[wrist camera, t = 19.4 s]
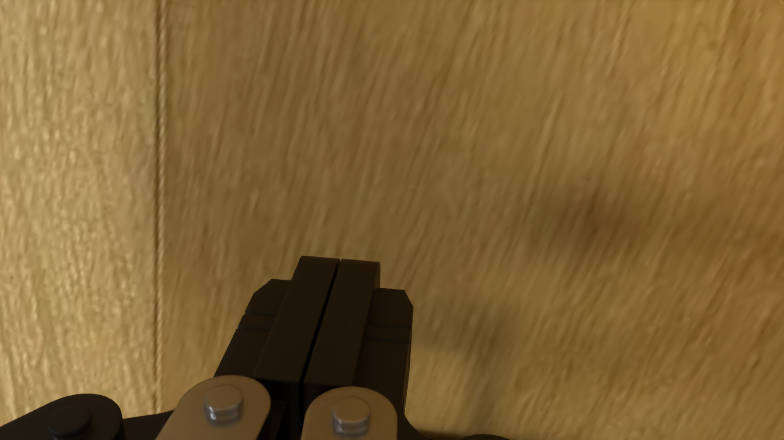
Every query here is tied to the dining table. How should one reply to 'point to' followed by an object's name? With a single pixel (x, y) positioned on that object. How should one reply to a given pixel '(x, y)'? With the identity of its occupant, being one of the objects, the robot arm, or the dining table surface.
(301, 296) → the robot arm
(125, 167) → the dining table surface
